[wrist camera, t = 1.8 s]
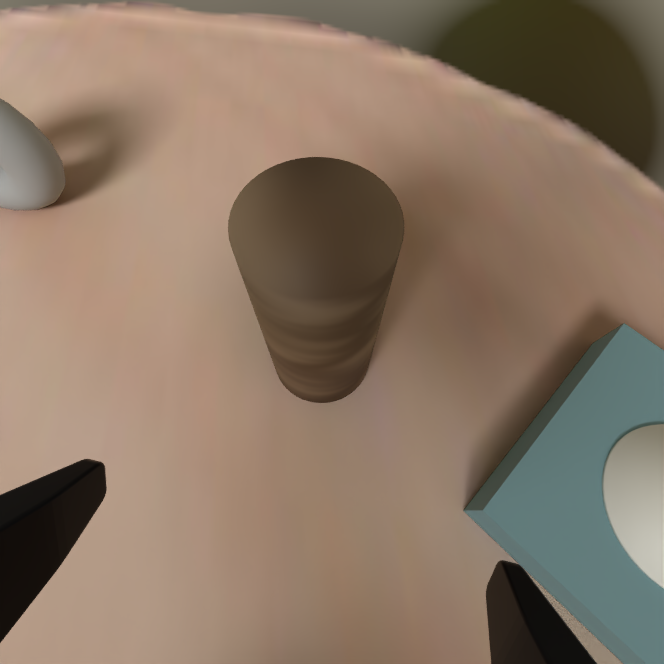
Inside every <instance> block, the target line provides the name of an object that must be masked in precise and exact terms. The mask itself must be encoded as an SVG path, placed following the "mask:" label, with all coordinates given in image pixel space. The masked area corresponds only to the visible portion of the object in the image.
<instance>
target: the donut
mask: <svg viewBox="0 0 664 664" xmlns="http://www.w3.org/2000/svg"><path fill="white" fill-rule="evenodd" d="M65 183H66V180H65V174H64V168H63V163H62V160H61V159H60V157H59V155H58V154H57V152H56V150H55V149H54V147H53V145H52V144H51V142H50V141H49V140H48V138H47V137H46V136H45V135H44V134H43V133H42V132H41V131H40V130H39V129H38V128H37V127H36V126H35V125H34V123H33V122H32V121H30V120H29V119H28V118H26V117H25V116H24V115H23V114H21V113H20V112H19V111H18V110H16V109H15V108H14V107H12V106H11V105H10V104H9V103H7V102H5V101H4V100H2V99H0V208H5V209H11V210H38V209H41V208H43V207H46V206H48V205H50V204H52V203H54V202H56V200H57V199H58V198H59V196H60V195H61V193H62V191H63V189H64V187H65Z"/></svg>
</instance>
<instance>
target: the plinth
mask: <svg viewBox="0 0 664 664" xmlns="http://www.w3.org/2000/svg"><path fill="white" fill-rule="evenodd" d="M464 512H465V513H466V514H467V515H468V516H469V517H471V518H472V519H473V520H474V521H475V522H476V523H477V524H478V525H479V526H480V527H481V528H482V529H483V530H484V531H485V532H486V533H487V534H488V535H489V536H490V537H491V538H493V539H494V540H495V541H496V542H497V543H498V544H499V545H500V546H501V547H502V548H503V549H504V550H505V551H506V552H507V553H508V554H509V555H510V556H511V557H512V558H513V559H515V560H516V561H517V562H518V563H519V564H520V565H521V566H522V567H523V568H524V569H525V570H526V571H527V572H528V573H529V574H530V575H531V576H532V577H533V578H534V579H535V580H537V581H538V582H539V583H540V584H541V585H542V586H543V587H544V588H545V589H546V590H547V591H548V592H549V593H550V594H551V595H552V596H553V597H554V598H555V599H556V600H557V601H559V602H560V603H561V604H562V605H563V606H564V607H565V608H566V609H567V610H568V611H569V612H570V613H571V614H572V615H573V616H574V617H575V618H576V619H577V620H578V621H579V622H581V623H582V624H583V625H584V626H585V627H586V628H587V629H588V630H589V631H590V632H591V633H592V634H593V635H594V636H595V637H596V638H597V639H598V640H599V641H600V642H601V643H603V644H604V645H605V646H606V647H607V648H608V649H609V650H610V651H611V652H612V653H613V654H614V655H615V656H616V657H617V658H618V659H619V660H620V661H621V662H622V663H623V664H664V350H662V349H661V348H659V347H658V346H656V345H655V344H654V343H652V342H651V341H649V340H648V339H646V338H645V337H643V336H642V335H641V334H639V333H638V332H636V331H635V330H633V329H632V328H630V327H629V326H627V325H626V324H625V323H624V324H622V325H620V326H619V327H617V328H616V329H614V330H613V331H611V332H610V333H608V334H606V335H605V336H603V337H602V338H600V339H599V340H597V341H595V342H594V343H593V344H592V345H591V346H590V348H589V349H588V350H587V351H586V353H585V354H584V355H583V357H582V358H581V359H580V361H579V362H578V363H577V364H576V366H575V367H574V368H573V370H572V371H571V372H570V373H569V375H568V376H567V377H566V379H565V380H564V381H563V383H562V384H561V385H560V386H559V388H558V389H557V390H556V392H555V393H554V394H553V395H552V397H551V398H550V399H549V401H548V402H547V403H546V405H545V406H544V407H543V408H542V410H541V411H540V412H539V414H538V415H537V416H536V417H535V419H534V420H533V421H532V423H531V424H530V425H529V426H528V428H527V429H526V430H525V432H524V433H523V434H522V436H521V437H520V438H519V439H518V441H517V442H516V443H515V445H514V446H513V447H512V448H511V450H510V451H509V452H508V454H507V455H506V456H505V458H504V459H503V460H502V461H501V463H500V464H499V465H498V467H497V468H496V469H495V470H494V472H493V473H492V474H491V476H490V477H489V478H488V480H487V481H486V482H485V483H484V485H483V486H482V487H481V489H480V490H479V491H478V492H477V494H476V495H475V496H474V498H473V499H472V500H471V501H470V503H469V504H468V505H467V507H466V508H465V509H464Z"/></svg>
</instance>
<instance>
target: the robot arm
mask: <svg viewBox="0 0 664 664" xmlns="http://www.w3.org/2000/svg"><path fill="white" fill-rule="evenodd" d="M105 494H106V475H105V466H104V464H103V463H102V462H99V461H95V460H91V459H84V460H81V461H78V462H76V463H74V464H71V465H69V466H67V467H64V468H62V469H60V470H57V471H55V472H53V473H50V474H48V475H46V476H43V477H41V478H39V479H36V480H34V481H32V482H29V483H27V484H25V485H22V486H20V487H18V488H15V489H13V490H11V491H8V492H6V493H4V494H1V495H0V643H1V641H2V640H3V639H4V637H5V636H6V635H7V634H8V632H9V631H10V630H11V628H12V627H13V626H14V625H15V623H16V622H17V621H18V620H19V618H20V617H21V616H22V614H23V613H24V612H25V611H26V609H27V608H28V607H29V605H30V604H31V603H32V602H33V600H34V599H35V598H36V596H37V595H38V594H39V593H40V591H41V590H42V589H43V587H44V586H45V585H46V584H47V582H48V581H49V580H50V578H51V577H52V576H53V575H54V573H55V572H56V571H57V569H58V568H59V567H60V565H61V564H62V562H63V561H64V559H65V558H66V557H67V555H68V554H69V552H70V551H71V549H72V547H73V546H74V544H75V543H76V541H77V540H78V538H79V537H80V535H81V534H82V532H83V530H84V529H85V527H86V526H87V524H88V523H89V521H90V520H91V518H92V516H93V515H94V513H95V512H96V510H97V509H98V507H99V506H100V504H101V503H102V501H103V499H104V497H105ZM486 603H487V615H488V628H489V640H490V652H491V664H597V663H596V662H595V660H594V659H593V658H592V657H591V655H590V654H589V653H588V651H587V650H586V649H585V648H584V646H583V645H582V644H581V642H580V641H579V640H578V638H577V637H576V636H575V635H574V633H573V632H572V631H571V629H570V628H569V627H568V626H567V624H566V623H565V622H564V620H563V619H562V618H561V617H560V615H559V614H558V613H557V611H556V610H555V609H554V608H553V606H552V605H551V604H550V602H549V601H548V600H547V598H546V597H545V596H544V595H543V593H542V592H541V591H540V589H539V588H538V587H537V586H536V584H535V583H534V582H533V580H532V579H531V578H530V577H529V575H528V574H527V573H526V571H525V570H524V569H523V568H522V567H521V566H520V565H518V564H516V563H512V562H508V561H504V560H501V561H499V562H498V563H497V565H496V567H495V569H494V571H493V574H492V576H491V578H490V580H489V583H488V585H487V589H486Z"/></svg>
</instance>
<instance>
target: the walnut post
mask: <svg viewBox="0 0 664 664" xmlns="http://www.w3.org/2000/svg"><path fill="white" fill-rule="evenodd" d="M228 233H229V240H230V244H231V247H232V250H233V253H234V256H235V259H236V261H237V264H238V267H239V270H240V272H241V275H242V278H243V281H244V283H245V286H246V289H247V292H248V294H249V297H250V300H251V303H252V305H253V308H254V311H255V314H256V316H257V319H258V322H259V325H260V327H261V330H262V333H263V336H264V338H265V341H266V344H267V347H268V350H269V352H270V355H271V358H272V361H273V363H274V366H275V369H276V372H277V374H278V376H279V379H280V380H281V382H282V383H283V385H284V386H285V387H286V388H287V389H288V390H289V391H290V392H291V393H293V394H294V395H296V396H297V397H299V398H301V399H304V400H307V401H310V402H316V403H327V402H333V401H336V400H339V399H342V398H344V397H346V396H347V395H349V394H350V393H352V392H353V391H354V390H355V389H356V388H357V387H358V386H359V385H360V383H361V382H362V380H363V379H364V376H365V374H366V372H367V368H368V365H369V361H370V358H371V354H372V350H373V347H374V343H375V339H376V336H377V332H378V328H379V325H380V321H381V318H382V314H383V310H384V307H385V303H386V299H387V296H388V292H389V288H390V285H391V281H392V278H393V274H394V270H395V267H396V263H397V259H398V256H399V252H400V248H401V245H402V241H403V235H404V218H403V213H402V210H401V207H400V204H399V202H398V200H397V198H396V196H395V195H394V193H393V192H392V191H391V189H390V188H389V187H388V186H387V185H386V184H385V183H384V182H383V181H382V180H381V179H380V178H378V177H377V176H376V175H375V174H373V173H371V172H370V171H368V170H367V169H365V168H363V167H361V166H359V165H356V164H353V163H350V162H347V161H343V160H339V159H333V158H325V157H308V158H300V159H295V160H290V161H286V162H283V163H281V164H278V165H275V166H273V167H271V168H269V169H267V170H265V171H264V172H262V173H260V174H259V175H258V176H256V177H255V178H254V179H252V180H251V181H250V182H249V183H248V184H247V185H246V186H245V187H244V188H243V190H242V191H241V192H240V194H239V195H238V197H237V198H236V200H235V202H234V204H233V207H232V209H231V212H230V217H229V223H228Z"/></svg>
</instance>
